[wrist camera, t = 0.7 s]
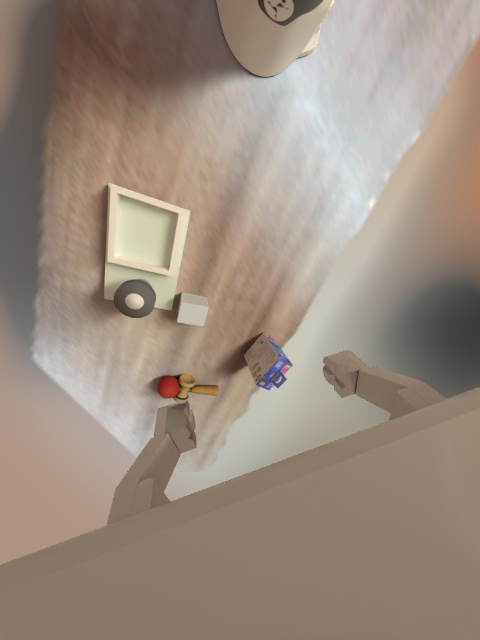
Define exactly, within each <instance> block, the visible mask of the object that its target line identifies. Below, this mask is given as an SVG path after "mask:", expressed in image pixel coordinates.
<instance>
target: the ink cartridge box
mask: <svg viewBox="0 0 480 640" xmlns="http://www.w3.org/2000/svg"><path fill="white" fill-rule="evenodd" d="M244 357H245V360H246V362H247V364H248V367H249V369H250V371H251V374H252V376H253V379H254V381H255V384H256V385H257V386H260V387H263V388H265V389H267V390H270V389H271V388H272V387H273V386H274V385H275V386H276V387H277V388H279V387H280V386H281V385H282V384H283V383H284V382H285V381H286V378H285V376H284V374H285V373H286V372H287V371H288V370H289V368H291V366H292V364H291V362H290V361H289V360H288V358H287V357H286V355H285V354H284V353H283V351H282V350H281V348H280V347H279V346H278V344H277V343H276V341H275V340H274V339H273V338H272V337H270V336H269V335H267V334H266V333H264V332H263V333H262V334H261V335H260V337H259V338H258V339H257V340H256V341H255V343H254V344H253V345H252V346H251V347H250V348H249V350H248V351H247V352H246V353H245V354H244ZM281 377H282V380H281V381H280V382H279V383H277V384H276V382H277V381H278V380H279V379H280V378H281Z"/></svg>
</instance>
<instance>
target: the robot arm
mask: <svg viewBox="0 0 480 640" xmlns="http://www.w3.org/2000/svg"><path fill="white" fill-rule="evenodd" d="M333 2H334V0H216V3H217V7H218V12H219V18H220V22H221V26H222V30H223V33H224V36H225V38H226V41H227V43H228V45H229V47H230V49H231V51H232V53H233V54H234V56H235V57H236V59H237V60H238V61H239V62H240V64H241V65H242V66H243V67H244V68H246V69H247V70H248V71H250V72H251V73H253V74H255V75H258V76H264V77H269V76H274V75H277V74H279V73H281V72H282V71H284V70H285V69H286V68H287V67H288V66H289V65H290V64H291V63H292V62H293V61H294V60H295V59H297V58H299V57H303V56H306V55H309V54H310V53H312V51H313V50H314V48H315V47H316V45H317V42H318V38H319V32H320V27H321V23H322V22H323V20H324V18H325V17H326V15H327V14H328V12H329V10H330V9H331V7H332V5H333ZM323 362H324V364H325V366H324V368H323V373H324V377H325V379H326V380H327V381H328V383H330V384H332V385H334V390H335V391H336V392H337V393H338V394H339V395H340V397H341V398H342V397H346V396H349V395H352V394H356V395H358V396H359V397H361V398H363V399H365V400H367V401H369V402H371V403H373V404H375V405H377V406H379V407H380V408H383V409H384V410H386V411H388V412H390V413H391V415H390V418H389V421H387V422H385V423H381V424H379V425H376V426H373V427H371V428H368V429H365V430H363V431H360V432H357V433H355V434H352V435H349V436H347V437H344V438H341V439H339V440H336V441H333V442H330V443H328V444H325V445H322V446H319V447H317V448H314V449H311V450H309V451H306V452H303V453H301V454H298V455H295V456H293V457H290V458H287V459H285V460H282V461H279V462H277V463H274V464H271V465H268V466H266V467H263V468H260V469H258V470H255V471H252V472H250V473H247V474H244V475H242V476H239V477H236V478H234V479H231V480H228V481H225V482H223V483H220V484H217V485H215V486H212V487H209V488H207V489H204V490H201V491H198V492H196V493H193V494H191V495H188V496H185V497H182V498H180V499H177V500H174V501H170V500H169V499H168V498H167V496H166V495H165V494H164V490H165V488H166V486H167V484H168V482H169V479H170V477H171V475H172V473H173V470H174V468H175V466H176V464H177V461H178V459H179V457H180V454H181V453H183V452H186V451H189V450H191V449H194V448H197V446H196V434H195V432H194V429H195V418H194V414H193V412H192V410H191V409H190V406H189V403H188V400H186V401H182V402H179V403H175V404H172V405H168V406H165V407H162V408H159V409H158V411H157V418H156V425H155V432H154V437H153V438H151V439H150V440H149V442H148V443H147V445H146V446H145V448H144V449H143V450H142V452H141V453H140V455H139V456H138V458H137V459H136V460H135V462H134V464H133V465H132V466H131V468H130V469H129V471H128V472H127V473H126V475H125V476H124V478H123V479H122V481H121V482H120V483H119V485H118V486H117V488H116V490H115V494H114V498H113V502H112V506H111V510H110V514H109V518H108V522H107V526H104V527H101V528H99V529H96V530H93V531H91V532H88V533H85V534H82V535H80V536H77V537H74V538H72V539H69V540H66V541H64V542H61V543H58V544H55V545H53V546H50V547H47V548H45V549H42V550H39V551H37V552H34V553H31V554H28V555H26V556H23V557H20V558H17V559H14V560H12V561H9V562H7V563H4V564H2V565H0V640H480V387H478V388H475V389H473V390H470V391H467V392H465V393H462V394H459V395H457V396H454V397H451V398H449V399H446V398H445V397H443V396H442V395H440V394H439V393H437V392H436V391H435V390H433V389H432V388H430V387H429V386H428V385H426V384H425V383H423V382H422V381H419V380H415V379H412V378H409V377H406V376H403V375H399V374H396V373H393V372H390V371H387V370H383V369H380V368H377V367H374V366H368V365H367V364H366V363H365V362H364V361H362V360H361V359H360V358H358V357H357V356H356V355H355V354H354V353H353V352H351V351H350V350H346V351H343V352H340V353H336V354H333V355H330V356H327V357H325V358H324V360H323Z"/></svg>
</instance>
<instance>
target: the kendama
mask: <svg viewBox="0 0 480 640" xmlns="http://www.w3.org/2000/svg"><path fill="white" fill-rule="evenodd" d="M194 384H195V379H194V378H193V377H192V376H190V375H187V374H183V375H181V376H180V377H179V379H178V380H177V379H176V378H175V377H172V376H167V377H165V378H163V379H162V380H161V381H160V382H159V384H158V392H159V394H160V396H162V397H163V398H172V397H173V398H174V400H175V401H177V402H182V401H186V400H187V399H188V394H187V392H193V393H198V394H207V395H214V396H217V395H218V392H219V388H218V386H194Z"/></svg>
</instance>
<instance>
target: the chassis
mask: <svg viewBox="0 0 480 640" xmlns="http://www.w3.org/2000/svg"><path fill="white" fill-rule="evenodd" d="M190 212H191V211H189V210H186V209H183V208H181V207H178V206H175V205H172V204H169V203H166V202H163V201H160V200H157V199H154V198H152V197H149V196H146V195H143V194H140V193H137V192H134V191H131V190H128V189H125V188H123V187H120V186H117V185H114V184H111V183H109V186H108V210H107V235H106V260H105V284H104V299H108V300H114V294H115V292H116V290H117V289H118V288H119V287H120V285H121V284H122V283H124V282H125V281H128V280H141V281H144V282H146V283H147V284H149V285H150V286H151V287H152V288H153V290H154V291H155V294H156V302H155V305H154V308H160V309H166V310H171V311H172V306H173V301H174V295H175V290H176V285H177V280H178V274H179V269H180V264H181V259H182V253H183V248H184V243H185V238H186V232H187V227H188V222H189V217H190Z"/></svg>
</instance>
